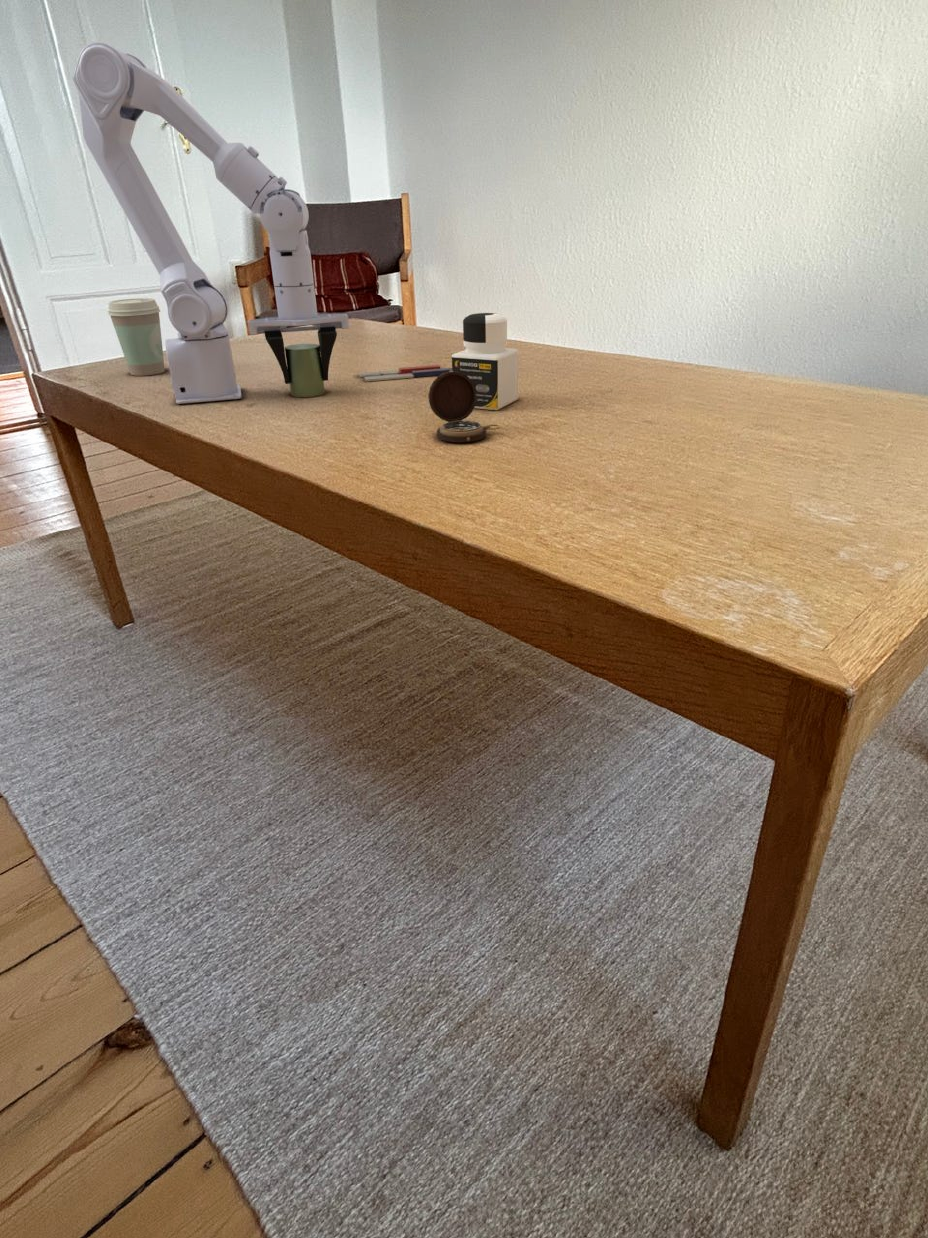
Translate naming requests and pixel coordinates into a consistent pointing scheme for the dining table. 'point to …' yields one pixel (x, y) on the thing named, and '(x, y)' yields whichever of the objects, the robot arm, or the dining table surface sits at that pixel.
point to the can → (305, 370)
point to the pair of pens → (401, 370)
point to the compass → (456, 407)
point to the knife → (410, 374)
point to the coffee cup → (139, 334)
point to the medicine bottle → (488, 360)
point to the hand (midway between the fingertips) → (306, 380)
